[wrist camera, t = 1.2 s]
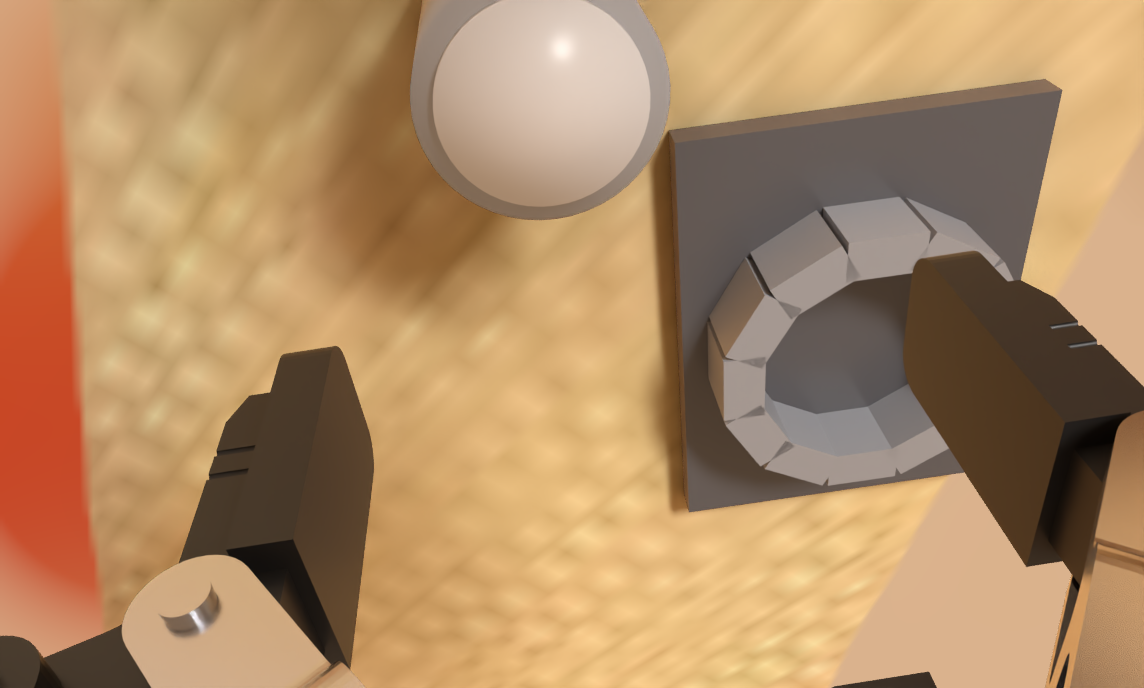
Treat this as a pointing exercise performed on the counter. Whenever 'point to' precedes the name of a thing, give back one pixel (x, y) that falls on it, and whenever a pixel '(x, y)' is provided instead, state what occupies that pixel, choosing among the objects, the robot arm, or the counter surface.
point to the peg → (538, 100)
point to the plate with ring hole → (833, 279)
